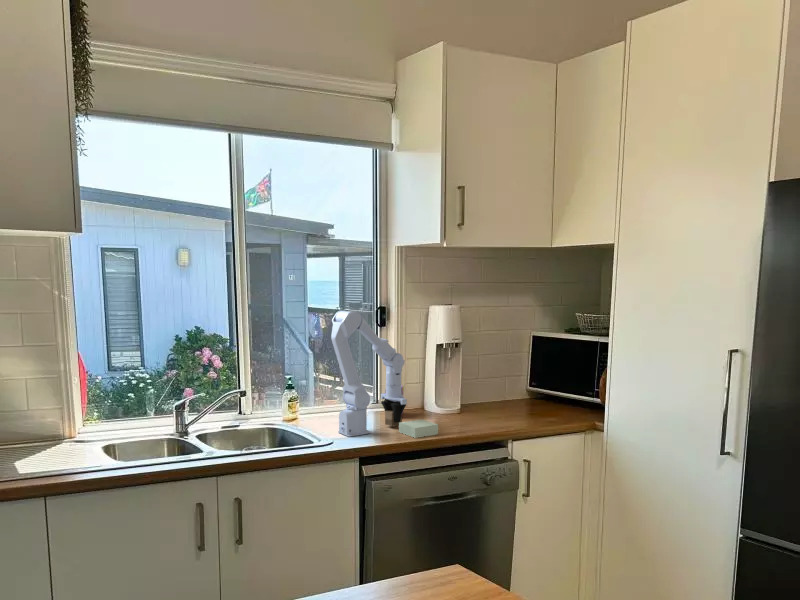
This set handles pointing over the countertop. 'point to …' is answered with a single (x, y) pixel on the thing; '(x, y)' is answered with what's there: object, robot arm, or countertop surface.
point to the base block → (418, 428)
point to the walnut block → (391, 418)
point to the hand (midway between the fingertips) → (393, 420)
